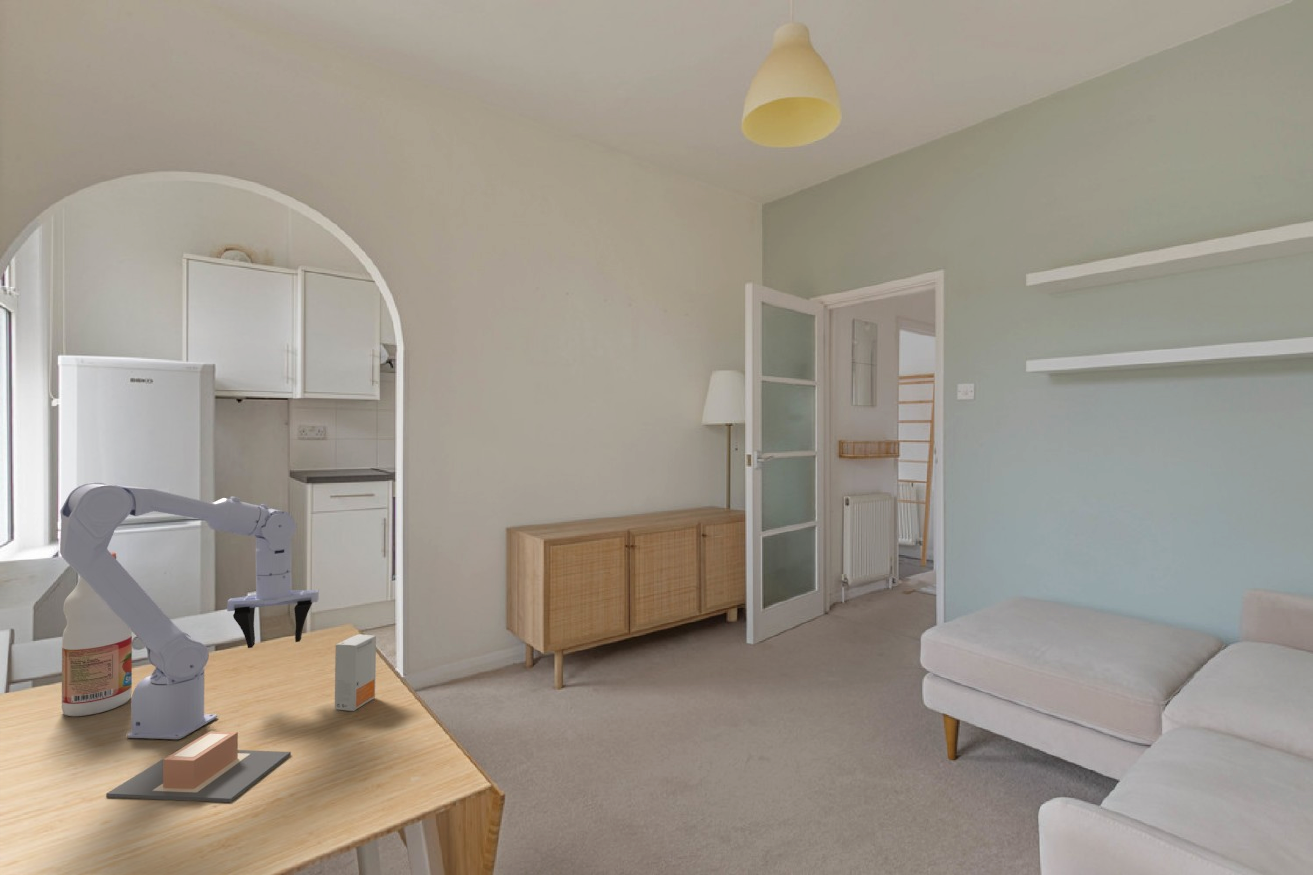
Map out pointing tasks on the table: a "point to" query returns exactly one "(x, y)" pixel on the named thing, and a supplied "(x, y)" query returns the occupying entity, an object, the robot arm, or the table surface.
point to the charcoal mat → (214, 789)
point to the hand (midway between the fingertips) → (275, 643)
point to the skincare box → (355, 672)
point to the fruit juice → (94, 655)
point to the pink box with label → (200, 760)
